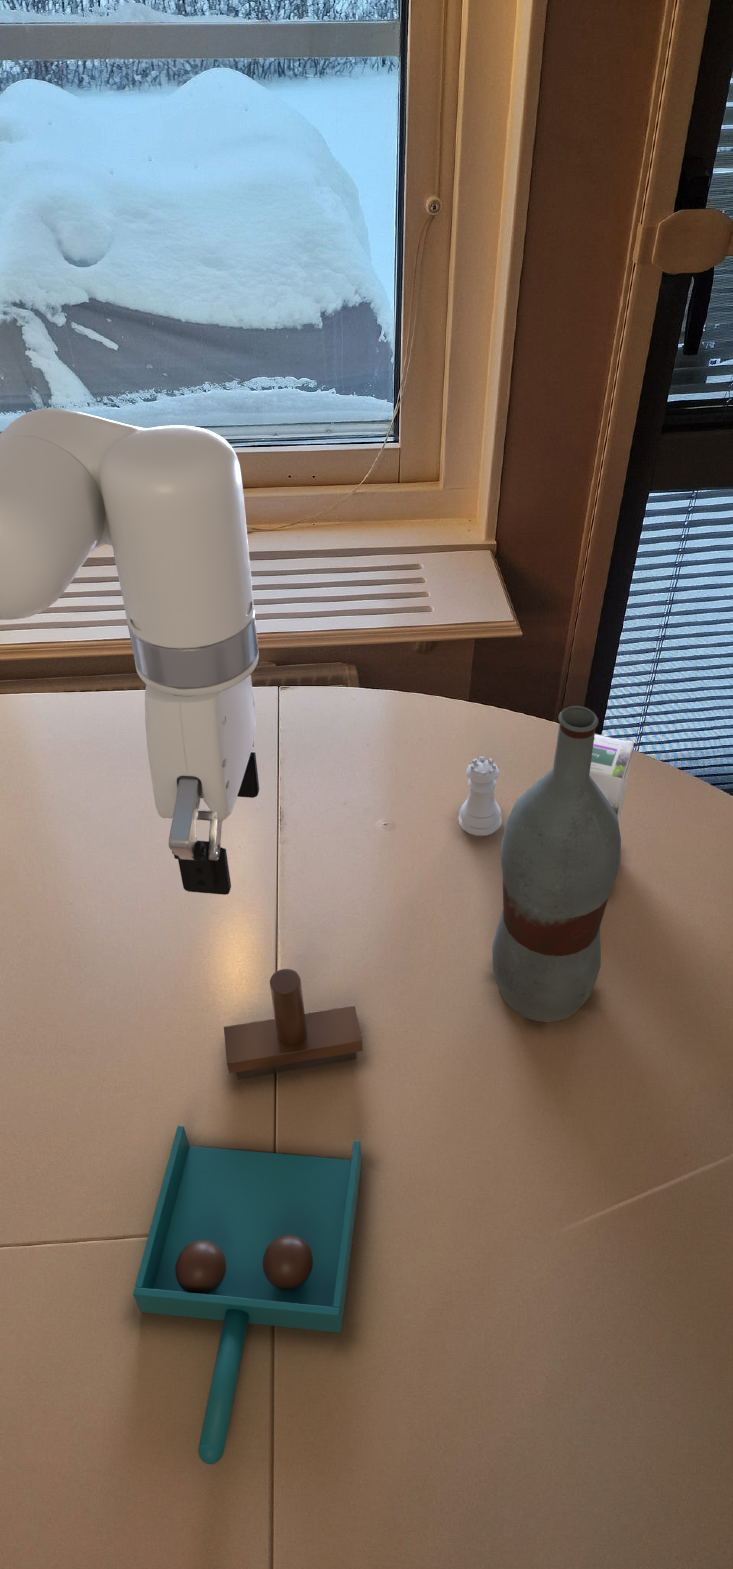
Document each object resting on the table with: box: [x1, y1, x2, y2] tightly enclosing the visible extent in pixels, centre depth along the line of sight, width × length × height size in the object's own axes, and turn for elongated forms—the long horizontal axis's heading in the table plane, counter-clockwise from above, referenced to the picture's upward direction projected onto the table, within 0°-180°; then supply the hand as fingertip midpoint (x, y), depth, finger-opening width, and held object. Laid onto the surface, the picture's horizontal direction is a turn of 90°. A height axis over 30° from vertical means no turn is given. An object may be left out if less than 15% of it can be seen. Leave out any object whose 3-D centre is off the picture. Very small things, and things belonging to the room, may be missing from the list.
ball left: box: [175, 1240, 226, 1294], centre depth 72 cm, size 4×4×4 cm
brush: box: [223, 968, 363, 1080], centre depth 83 cm, size 11×4×10 cm, turn 100°
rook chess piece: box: [457, 755, 503, 837], centre depth 104 cm, size 4×4×8 cm
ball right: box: [263, 1235, 313, 1290], centre depth 72 cm, size 4×4×4 cm
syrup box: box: [589, 733, 635, 824], centre depth 97 cm, size 6×6×14 cm
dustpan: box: [132, 1125, 363, 1466], centre depth 71 cm, size 21×14×3 cm, turn 174°
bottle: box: [491, 705, 622, 1023], centre depth 81 cm, size 9×9×30 cm
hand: (223, 839), depth 74 cm, fingers open, 9 cm apart
